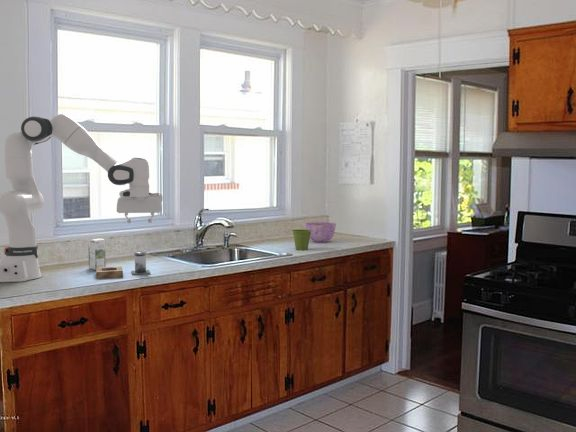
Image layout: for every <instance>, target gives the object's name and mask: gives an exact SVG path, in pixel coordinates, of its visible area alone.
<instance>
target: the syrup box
mask: <svg viewBox="0 0 576 432" xmlns="http://www.w3.org/2000/svg"><path fill="white" fill-rule="evenodd" d="M106 265H107V264H106V239H104V238H102V237H101V238H99V237H97V238H91V239H88V270H95V271H96V268H101V267H107V266H106Z"/></svg>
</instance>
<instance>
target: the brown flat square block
mask: <svg viewBox="0 0 576 432" xmlns="http://www.w3.org/2000/svg"><path fill="white" fill-rule="evenodd" d="M95 273H96V274H95V276H96V280H99V279H100V280H101V279H118V278H120V279H121V278H123V277H124V271H123V267H122V266H108V267H107V266H106V267H101V268H96V270H95Z"/></svg>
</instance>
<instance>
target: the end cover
mask: <svg viewBox="0 0 576 432" xmlns="http://www.w3.org/2000/svg"><path fill="white" fill-rule="evenodd" d="M133 255H134V271H135V272H136V273H144V272H146V270H147V252H146V251H135V252H133Z"/></svg>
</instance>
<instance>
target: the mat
mask: <svg viewBox="0 0 576 432" xmlns="http://www.w3.org/2000/svg"><path fill="white" fill-rule="evenodd" d="M131 275H132V276H140V275H141V276H142V275H151V271H150V270H149V269H146V272H144V273H136V272H135V270H131Z"/></svg>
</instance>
